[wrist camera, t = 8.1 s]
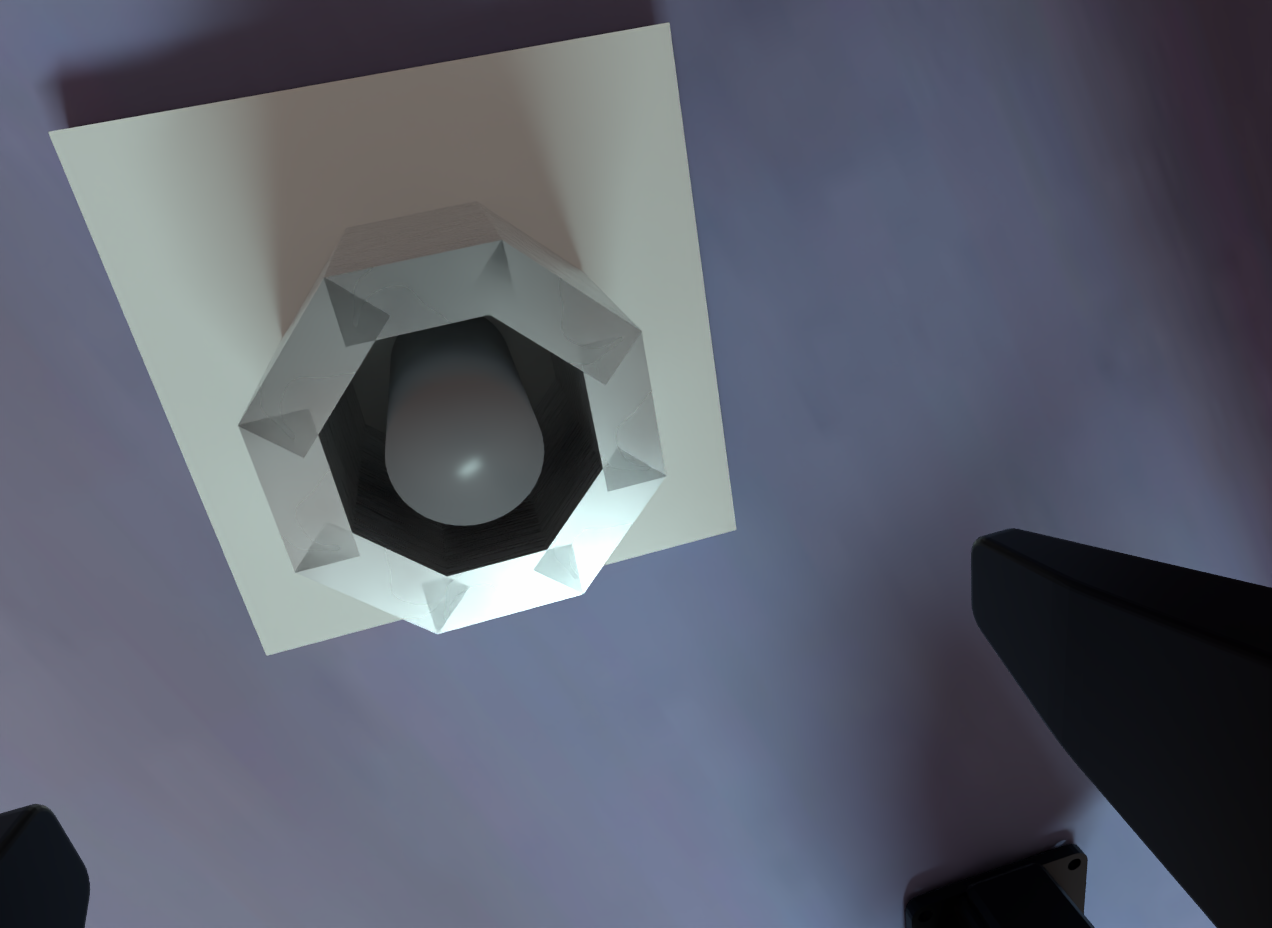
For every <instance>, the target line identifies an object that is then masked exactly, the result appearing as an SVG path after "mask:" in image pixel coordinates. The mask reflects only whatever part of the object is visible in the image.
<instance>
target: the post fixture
mask: <svg viewBox="0 0 1272 928" xmlns="http://www.w3.org/2000/svg"><path fill="white" fill-rule="evenodd" d="M48 133H49V135H50V138H51V140H52V142H53V145H54V147H55V150H56V152H57V154H58V157H59V159H60V162H61V164H62V166H63V169H64V171H65V174H66V176H67V178H68V181H69V183H70V186H71V188H72V190H73V193H74V195H75V198H76V200H77V202H78V205H79V207H80V210H81V212H82V214H83V217H84V219H85V222H86V224H87V226H88V229H89V231H90V233H91V236H92V238H93V241H94V243H95V245H96V248H97V250H98V253H99V255H100V257H101V260H102V262H103V265H104V267H105V269H106V272H107V274H108V277H109V279H110V281H111V284H112V286H113V289H114V291H115V293H116V296H117V298H118V301H119V303H120V305H121V308H122V310H123V313H124V315H125V317H126V320H127V322H128V325H129V327H130V329H131V332H132V334H133V337H134V339H135V341H136V344H137V346H138V349H139V351H140V353H141V356H142V358H143V361H144V363H145V365H146V368H147V370H148V373H149V375H150V377H151V380H152V382H153V385H154V387H155V389H156V392H157V394H158V397H159V399H160V401H161V404H162V406H163V408H164V411H165V413H166V416H167V418H168V420H169V423H170V425H171V428H172V430H173V432H174V435H175V437H176V440H177V442H178V444H179V447H180V449H181V452H182V454H183V456H184V459H185V461H186V464H187V466H188V468H189V471H190V473H191V476H192V478H193V480H194V483H195V485H196V488H197V490H198V492H199V495H200V497H201V500H202V502H203V504H204V507H205V509H206V512H207V514H208V516H209V519H210V521H211V524H212V526H213V528H214V531H215V533H216V536H217V538H218V540H219V543H220V545H221V548H222V550H223V552H224V555H225V557H226V560H227V562H228V564H229V567H230V569H231V572H232V574H233V576H234V579H235V581H236V583H237V586H238V588H239V591H240V593H241V595H242V598H243V600H244V603H245V605H246V607H247V610H248V612H249V615H250V617H251V619H252V622H253V624H254V627H255V629H256V631H257V634H258V636H259V639H260V641H261V643H262V646H263V648H264V651H265V653H266V655H267V656H268V655H271V654H275V653H279V652H283V651H286V650H290V649H294V648H297V647H301V646H305V645H309V644H312V643H316V642H320V641H324V640H327V639H331V638H335V637H339V636H342V635H346V634H350V633H353V632H357V631H361V630H365V629H368V628H372V627H376V626H380V625H383V624H387V623H391V622H394V621H398V620H402V619H401V618H399V617H397V616H394V615H392V614H390V613H388V612H385V611H383V610H381V609H378V608H376V607H374V606H371V605H369V604H367V603H364V602H362V601H360V600H357V599H355V598H353V597H350V596H348V595H346V594H344V593H341V592H339V591H337V590H334V589H332V588H330V587H327V586H325V585H323V584H320V583H318V582H316V581H313V580H311V579H309V578H306V577H304V576H302V575H300V574H297V573H295V571H294V569H293V566H292V564H291V561H290V558H289V556H288V553H287V551H286V548H285V545H284V543H283V540H282V538H281V535H280V533H279V530H278V527H277V525H276V522H275V520H274V517H273V514H272V512H271V509H270V507H269V504H268V502H267V499H266V496H265V494H264V491H263V489H262V486H261V484H260V481H259V478H258V476H257V473H256V471H255V468H254V465H253V463H252V460H251V458H250V455H249V453H248V450H247V447H246V445H245V442H244V440H243V437H242V434H241V432H240V429H239V427H238V424H239V422H240V420H241V418H242V416H243V414H244V412H245V410H246V408H247V406H248V404H249V402H250V400H251V398H252V396H253V394H254V392H255V390H256V388H257V386H258V384H259V382H260V380H261V378H262V376H263V374H264V372H265V371H266V369H267V367H268V365H269V363H270V361H271V359H272V357H273V355H274V353H275V351H276V349H277V347H278V345H279V343H280V341H281V339H282V338H283V336H284V334H285V333H286V331H287V329H288V327H289V326H290V324H291V322H292V320H293V319H294V317H295V315H296V314H297V312H298V310H299V308H300V307H301V305H302V303H303V302H304V300H305V298H306V296H307V295H308V293H309V291H310V290H311V288H312V286H313V284H314V283H315V281H316V279H317V277H318V276H319V274H320V272H321V271H322V269H323V267H324V265H325V264H326V262H327V260H328V259H329V257H330V255H331V253H332V252H333V250H334V248H335V246H336V245H337V243H338V241H339V240H340V238H341V236H342V234H343V233H344V231H345V229H346V228H348V227H353V226H358V225H362V224H367V223H372V222H377V221H382V220H387V219H392V218H396V217H401V216H406V215H411V214H416V213H421V212H426V211H431V210H435V209H440V208H445V207H450V206H455V205H460V204H465V203H470V202H474V201H478V202H479V203H481V204H482V205H484V206H485V207H487V208H488V209H490V210H491V211H493V212H494V213H496V214H497V215H499V216H500V217H502V218H503V219H505V220H506V221H508V222H509V223H511V224H512V225H514V226H515V227H517V228H518V229H520V230H521V231H523V232H524V233H526V234H527V235H529V236H530V237H532V238H533V239H535V240H536V241H538V242H539V243H541V244H542V245H544V246H545V247H547V248H548V249H550V250H551V251H553V252H554V253H556V254H557V255H559V256H560V257H562V258H563V259H565V260H566V261H568V262H569V263H571V264H572V265H574V266H575V267H577V268H578V269H580V270H581V271H583V272H584V273H585V274H586V275H587V276H588V277H589V278H590V279H591V280H592V281H593V282H594V283H595V284H596V285H597V286H598V287H599V288H600V289H601V290H602V291H603V292H604V293H605V294H606V295H607V296H608V297H609V298H610V299H611V300H612V301H613V302H614V303H615V304H616V305H617V306H618V307H619V308H620V309H621V310H622V311H623V312H624V313H625V314H626V315H627V316H628V317H629V318H630V319H631V320H632V322H633V323H634V324H635V325H636V326H637V327H638V328H639V329H640V330H641V331H642V336H643V342H644V348H645V354H646V360H647V365H648V371H649V377H650V383H651V389H652V395H653V401H654V407H655V412H656V418H657V424H658V430H659V436H660V442H661V448H662V454H663V459H664V465H665V471H666V477H665V479H664V480H663V482H662V483H661V484H660V486H659V487H658V489H657V490H656V492H655V493H654V494H653V496H652V497H651V499H650V500H649V501H648V503H647V504H646V506H645V507H644V508H643V510H642V511H641V513H640V514H639V516H638V517H637V518H636V520H635V521H634V523H633V524H632V525H631V527H630V528H629V530H628V531H627V533H626V534H625V535H624V537H623V538H622V540H621V541H620V542H619V544H618V545H617V547H616V548H615V550H614V551H613V552H612V554H611V555H610V557H609V558H608V559H607V561H606V562H605V564H604V565H607V564H611V563H615V562H618V561H622V560H626V559H629V558H633V557H637V556H641V555H644V554H648V553H652V552H656V551H659V550H663V549H667V548H671V547H674V546H678V545H682V544H685V543H689V542H693V541H697V540H700V539H704V538H708V537H712V536H715V535H719V534H723V533H726V532H730V531H734V530H736V523H735V516H734V508H733V500H732V493H731V485H730V478H729V470H728V463H727V455H726V447H725V440H724V432H723V425H722V417H721V410H720V402H719V394H718V387H717V379H716V372H715V364H714V357H713V349H712V341H711V334H710V326H709V319H708V311H707V304H706V296H705V289H704V281H703V273H702V266H701V258H700V251H699V243H698V236H697V228H696V220H695V213H694V205H693V198H692V190H691V183H690V175H689V167H688V160H687V152H686V145H685V137H684V130H683V122H682V114H681V107H680V99H679V92H678V84H677V77H676V69H675V61H674V54H673V46H672V39H671V31H670V24H669V23H663V24H657V25H652V26H646V27H640V28H635V29H629V30H623V31H618V32H612V33H606V34H601V35H595V36H589V37H584V38H578V39H572V40H566V41H561V42H555V43H549V44H544V45H538V46H532V47H527V48H521V49H515V50H510V51H504V52H498V53H493V54H487V55H481V56H476V57H470V58H464V59H459V60H453V61H447V62H442V63H436V64H430V65H425V66H419V67H413V68H408V69H402V70H396V71H391V72H385V73H379V74H374V75H368V76H362V77H357V78H351V79H345V80H340V81H334V82H328V83H323V84H317V85H311V86H306V87H300V88H294V89H289V90H283V91H277V92H272V93H266V94H260V95H255V96H249V97H243V98H238V99H232V100H226V101H221V102H215V103H209V104H204V105H198V106H192V107H187V108H181V109H175V110H170V111H164V112H158V113H153V114H147V115H141V116H136V117H130V118H124V119H119V120H113V121H107V122H102V123H96V124H90V125H85V126H79V127H73V128H68V129H62V130H56V131H51V132H48ZM555 379H556V377H555V372H554V368H553V363H552V359H551V354H550V351H548V350H547V349H545V348H544V347H542V346H540V345H539V344H537V343H535V342H534V341H532V340H530V339H529V338H527V337H526V336H524V335H522V334H521V333H519V332H517V331H516V330H514V329H512V328H511V327H509V326H508V325H506V324H504V323H503V322H501V321H499V320H498V319H496V318H494V317H493V316H491V315H486V316H482V317H477V318H473V319H469V320H464V321H460V322H455V323H451V324H446V325H442V326H437V327H433V328H429V329H424V330H420V331H415V332H411V333H406V334H402V335H397V336H393V337H388V338H384V339H380V340H375V342H374V344H373V345H372V347H371V349H370V350H369V352H368V353H367V355H366V357H365V358H364V360H363V362H362V363H361V365H360V367H359V368H358V370H357V372H356V373H355V375H354V377H353V378H352V383H353V386H354V389H355V392H356V395H357V398H358V401H359V404H360V407H361V411H362V414H363V417H364V420H365V423H366V424H367V425H369V426H371V427H373V428H375V429H377V430H379V431H381V432H383V433H385V434H386V444H385V463H386V468H387V473H388V476H389V478H390V481H391V483H392V485H393V487H394V489H395V490H396V492H397V493H398V495H399V496H400V497H401V498H402V500H403V501H404V502H405V503H406V504H407V505H408V506H409V507H411V508H412V509H413V510H415V511H416V512H417V513H419V514H421V515H423V516H424V517H426V518H429V519H431V520H434V521H437V522H440V523H444V524H449V525H459V526H467V525H477V524H482V523H486V522H489V521H492V520H495V519H497V518H499V517H502V516H504V515H505V514H507V513H509V512H510V511H512V510H513V509H514V508H516V507H517V506H518V505H519V504H520V503H521V502H522V501H523V500H524V499H525V498H526V497H527V496H528V495H529V494H530V492H531V491H532V489H533V488H534V486H535V484H536V483H537V480H538V478H539V476H540V473H541V470H542V466H543V460H544V443H543V436H542V433H541V430H540V427H539V424H538V422H537V419H536V417H535V414H534V411H535V409H536V408H537V406H538V405H539V403H540V402H541V400H542V399H543V397H544V396H545V394H546V393H547V391H548V390H549V388H550V386H551V385H552V383H553V382H554V380H555Z"/></svg>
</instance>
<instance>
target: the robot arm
mask: <svg viewBox="0 0 1272 928" xmlns="http://www.w3.org/2000/svg"><path fill="white" fill-rule="evenodd" d="M971 601H972V610H973V615H974V618H975V620H976V623H977V625H978V627H979V628H980V630H981V631H982V633H983V634H984V636H985V637H986V639H987V640H988V642H989V643H990V644H991V646H992V647H993V649H994V650H995V652H996V653H997V655H998V656H999V657H1000V659H1001V660H1002V662H1003V663H1004V665H1005V666H1006V668H1007V669H1008V671H1009V672H1010V673H1011V675H1012V676H1013V678H1014V679H1015V681H1016V682H1017V684H1018V685H1019V686H1020V688H1021V689H1022V691H1023V692H1024V694H1025V695H1026V697H1027V698H1028V699H1029V701H1030V702H1031V704H1032V705H1033V707H1034V708H1035V710H1036V711H1037V712H1038V714H1039V715H1040V717H1041V718H1042V720H1043V721H1044V723H1045V724H1046V725H1047V727H1048V728H1049V730H1050V731H1051V732H1052V734H1053V735H1054V736H1055V738H1056V739H1057V740H1058V742H1059V743H1060V744H1061V746H1062V747H1063V748H1064V749H1065V751H1066V752H1067V753H1068V754H1069V755H1070V757H1071V758H1072V759H1073V760H1074V762H1075V763H1076V764H1077V765H1078V766H1079V768H1080V769H1081V770H1082V771H1083V772H1084V773H1085V775H1086V776H1087V777H1088V778H1089V779H1090V780H1091V782H1092V783H1093V784H1094V785H1095V786H1096V787H1097V789H1098V790H1099V791H1100V792H1101V793H1102V794H1103V796H1104V797H1105V798H1106V799H1107V800H1108V801H1109V803H1110V804H1111V805H1112V806H1113V807H1114V808H1115V810H1116V811H1117V812H1118V813H1119V814H1120V815H1121V817H1122V818H1123V819H1124V820H1125V821H1126V822H1127V824H1128V825H1129V826H1130V827H1131V828H1132V829H1133V831H1134V832H1135V833H1136V834H1137V835H1138V836H1139V838H1140V839H1141V840H1142V841H1143V842H1144V843H1145V845H1146V846H1147V847H1148V848H1149V849H1150V850H1151V852H1152V853H1153V854H1154V855H1155V856H1156V857H1157V858H1158V860H1159V861H1160V862H1161V863H1162V864H1163V865H1164V867H1165V868H1166V869H1167V870H1168V871H1169V872H1170V874H1171V875H1172V876H1173V877H1174V878H1175V879H1176V881H1177V882H1178V883H1179V884H1180V885H1181V886H1182V888H1183V889H1184V890H1185V891H1186V892H1187V893H1188V895H1189V896H1190V897H1191V898H1192V899H1193V900H1194V902H1195V903H1196V904H1197V905H1198V906H1199V907H1200V909H1201V910H1202V911H1203V912H1204V913H1205V914H1206V916H1207V917H1208V918H1209V919H1210V920H1211V921H1212V923H1213V924H1214V925H1215V926H1216V927H1217V928H1272V588H1270V587H1266V586H1262V585H1257V584H1253V583H1249V582H1244V581H1240V580H1236V579H1231V578H1227V577H1223V576H1218V575H1214V574H1210V573H1206V572H1201V571H1197V570H1193V569H1188V568H1184V567H1180V566H1175V565H1171V564H1167V563H1162V562H1158V561H1154V560H1150V559H1145V558H1141V557H1137V556H1132V555H1128V554H1124V553H1119V552H1115V551H1111V550H1106V549H1102V548H1098V547H1093V546H1089V545H1085V544H1081V543H1076V542H1072V541H1068V540H1063V539H1059V538H1055V537H1050V536H1046V535H1042V534H1037V533H1033V532H1029V531H1024V530H1020V529H1015V528H1013V529H1006V530H1002V531H999V532H995V533H992V534H988V535H985V536H981V537H979V538H978V539H977V540H976V541H975V542H974V543H973V546H972V551H971ZM1087 861H1088V860H1087V856H1086V855H1085V854H1084V852H1083V851H1082V850H1081V849H1080V848H1079V847H1078V846H1077V845H1075V844H1069V845H1065V846H1062V847H1059V848H1056V849H1053V850H1050V851H1048V852H1045V853H1042V854H1039V855H1036V856H1033V857H1030V858H1027V859H1024V860H1021V861H1018V862H1015V863H1013V864H1010V865H1007V866H1004V867H1001V868H998V869H995V870H992V871H989V872H986V873H983V874H981V875H978V876H975V877H972V878H969V879H966V880H963V881H960V882H957V883H954V884H951V885H949V886H946V887H943V888H940V889H937V890H934V891H931V892H928V893H925V894H922V895H919V896H917V897H915V898H913V899H912V900H911V901H910V902H909V903H908V905H907V906H906V928H1094V926H1093V925H1092V924H1091V923H1090V921H1089V920H1088V919H1087V918H1086V917H1085V915H1084V902H1085V888H1086V874H1087ZM89 895H90V882H89V876H88V873H87V869H86V867H85V865H84V863H83V861H82V860H81V858H80V856H79V855H78V853H77V851H76V850H75V848H74V846H73V845H72V843H71V841H70V840H69V838H68V836H67V835H66V833H65V831H64V830H63V828H62V826H61V825H60V823H59V821H58V820H57V818H56V816H55V815H54V813H53V812H52V811H51V810H50V809H49V808H47V807H46V806H44V805H39V804H32V805H29V806H25V807H22V808H18V809H15V810H11V811H7V812H4V813H0V928H85V922H86V915H87V909H88V903H89Z"/></svg>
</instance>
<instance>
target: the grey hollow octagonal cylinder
mask: <svg viewBox="0 0 1272 928" xmlns="http://www.w3.org/2000/svg"><path fill="white" fill-rule="evenodd" d="M486 315H491V316H493V317H494V318H496V319H498V320H499V321H501V322H503V323H504V324H506V325H508V326H509V327H511V328H512V329H514V330H516V331H517V332H519V333H521V334H522V335H524V336H526V337H527V338H529V339H530V340H532V341H534V342H535V343H537V344H539V345H540V346H542V347H544V348H545V349H547V350H548V351H550V354H551V359H552V363H553V368H554V372H555V377H556V379H555V380H554V382H553V383H552V385H551V386H550V388H549V390H548V391H547V393H546V394H545V396H544V397H543V399H542V400H541V402H540V403H539V405H538V406H537V408H536V409H535V411H534V414H535V417H536V419H537V422H538V424H539V427H540V430H541V433H542V436H543V443H544V460H543V466H542V470H541V473H540V476H539V478H538V480H537V483H536V484H535V486H534V488H533V489H532V491H531V492H530V494H529V495H528V496H527V497H526V498H525V499H524V500H523V501H522V502H521V503H520V504H519V505H518V506H517V507H516V508H514V509H513V510H512V511H510V512H509V513H507V514H505V515H504V516H502V517H499V518H497V519H495V520H492V521H489V522H486V523H482V524H477V525H467V526H459V525H449V524H444V523H440V522H437V521H434V520H431V519H429V518H426V517H424V516H423V515H421V514H419V513H417V512H416V511H415V510H413V509H412V508H411V507H409V506H408V505H407V504H406V503H405V502H404V501H403V500H402V498H401V497H400V496H399V495H398V493H397V492H396V490H395V489H394V487H393V485H392V483H391V481H390V478H389V476H388V473H387V468H386V463H385V444H386V434H385V433H383V432H381V431H379V430H377V429H375V428H373V427H371V426H369V425H367V424H366V423H365V420H364V417H363V414H362V411H361V407H360V404H359V401H358V398H357V395H356V392H355V389H354V386H353V383H352V378H353V377H354V375H355V373H356V372H357V370H358V368H359V367H360V365H361V363H362V362H363V360H364V358H365V357H366V355H367V353H368V352H369V350H370V349H371V347H372V345H373V344H374V342H375V340H380V339H384V338H388V337H393V336H397V335H402V334H406V333H411V332H415V331H420V330H424V329H429V328H433V327H437V326H442V325H446V324H451V323H455V322H460V321H464V320H469V319H473V318H477V317H482V316H486ZM238 427H239V429H240V432H241V434H242V437H243V440H244V442H245V445H246V447H247V450H248V453H249V455H250V458H251V460H252V463H253V465H254V468H255V471H256V473H257V476H258V478H259V481H260V484H261V486H262V489H263V491H264V494H265V496H266V499H267V502H268V504H269V507H270V509H271V512H272V514H273V517H274V520H275V522H276V525H277V527H278V530H279V533H280V535H281V538H282V540H283V543H284V545H285V548H286V551H287V553H288V556H289V558H290V561H291V564H292V566H293V569H294V571H295V573H297V574H300V575H302V576H304V577H306V578H309V579H311V580H313V581H316V582H318V583H320V584H323V585H325V586H327V587H330V588H332V589H334V590H337V591H339V592H341V593H344V594H346V595H348V596H350V597H353V598H355V599H357V600H360V601H362V602H364V603H367V604H369V605H371V606H374V607H376V608H378V609H381V610H383V611H385V612H388V613H390V614H392V615H394V616H397V617H399V618H401V619H404V620H406V621H408V622H411V623H413V624H415V625H418V626H420V627H422V628H425V629H427V630H429V631H432V632H434V633H436V634H440V633H443V632H447V631H451V630H454V629H458V628H461V627H465V626H469V625H472V624H476V623H480V622H483V621H487V620H490V619H494V618H498V617H501V616H505V615H509V614H512V613H516V612H519V611H523V610H527V609H530V608H534V607H538V606H541V605H545V604H548V603H552V602H556V601H559V600H563V599H567V598H570V597H574V596H578V595H581V594H583V593H584V592H585V591H586V589H587V588H588V586H589V585H590V583H591V582H592V581H593V579H594V578H595V576H596V575H597V574H598V572H599V571H600V569H601V568H602V566H603V565H604V564H605V562H606V561H607V559H608V558H609V557H610V555H611V554H612V552H613V551H614V550H615V548H616V547H617V545H618V544H619V542H620V541H621V540H622V538H623V537H624V535H625V534H626V533H627V531H628V530H629V528H630V527H631V525H632V524H633V523H634V521H635V520H636V518H637V517H638V516H639V514H640V513H641V511H642V510H643V508H644V507H645V506H646V504H647V503H648V501H649V500H650V499H651V497H652V496H653V494H654V493H655V492H656V490H657V489H658V487H659V486H660V484H661V483H662V482H663V480H664V479H665V477H666V471H665V465H664V459H663V454H662V448H661V442H660V436H659V430H658V424H657V418H656V412H655V407H654V401H653V395H652V389H651V383H650V377H649V371H648V365H647V360H646V354H645V348H644V342H643V336H642V331H641V330H640V329H639V328H638V327H637V326H636V325H635V324H634V323H633V322H632V320H631V319H630V318H629V317H628V316H627V315H626V314H625V313H624V312H623V311H622V310H621V309H620V308H619V307H618V306H617V305H616V304H615V303H614V302H613V301H612V300H611V299H610V298H609V297H608V296H607V295H606V294H605V293H604V292H603V291H602V290H601V289H600V288H599V287H598V286H597V285H596V284H595V283H594V282H593V281H592V280H591V279H590V278H589V277H588V276H587V275H586V274H585V273H584V272H583V271H581V270H580V269H578V268H577V267H575V266H574V265H572V264H571V263H569V262H568V261H566V260H565V259H563V258H562V257H560V256H559V255H557V254H556V253H554V252H553V251H551V250H550V249H548V248H547V247H545V246H544V245H542V244H541V243H539V242H538V241H536V240H535V239H533V238H532V237H530V236H529V235H527V234H526V233H524V232H523V231H521V230H520V229H518V228H517V227H515V226H514V225H512V224H511V223H509V222H508V221H506V220H505V219H503V218H502V217H500V216H499V215H497V214H496V213H494V212H493V211H491V210H490V209H488V208H487V207H485V206H484V205H482V204H481V203H479V202H478V201H474V202H470V203H465V204H460V205H455V206H450V207H445V208H440V209H435V210H431V211H426V212H421V213H416V214H411V215H406V216H401V217H396V218H392V219H387V220H382V221H377V222H372V223H367V224H362V225H358V226H353V227H348V228H346V229H345V231H344V233H343V234H342V236H341V238H340V240H339V241H338V243H337V245H336V246H335V248H334V250H333V252H332V253H331V255H330V257H329V259H328V260H327V262H326V264H325V265H324V267H323V269H322V271H321V272H320V274H319V276H318V277H317V279H316V281H315V283H314V284H313V286H312V288H311V290H310V291H309V293H308V295H307V296H306V298H305V300H304V302H303V303H302V305H301V307H300V308H299V310H298V312H297V314H296V315H295V317H294V319H293V320H292V322H291V324H290V326H289V327H288V329H287V331H286V333H285V334H284V336H283V338H282V339H281V341H280V343H279V345H278V347H277V349H276V351H275V353H274V355H273V357H272V359H271V361H270V363H269V365H268V367H267V369H266V371H265V372H264V374H263V376H262V378H261V380H260V382H259V384H258V386H257V388H256V390H255V392H254V394H253V396H252V398H251V400H250V402H249V404H248V406H247V408H246V410H245V412H244V414H243V416H242V418H241V420H240V422H239V424H238Z"/></svg>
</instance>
